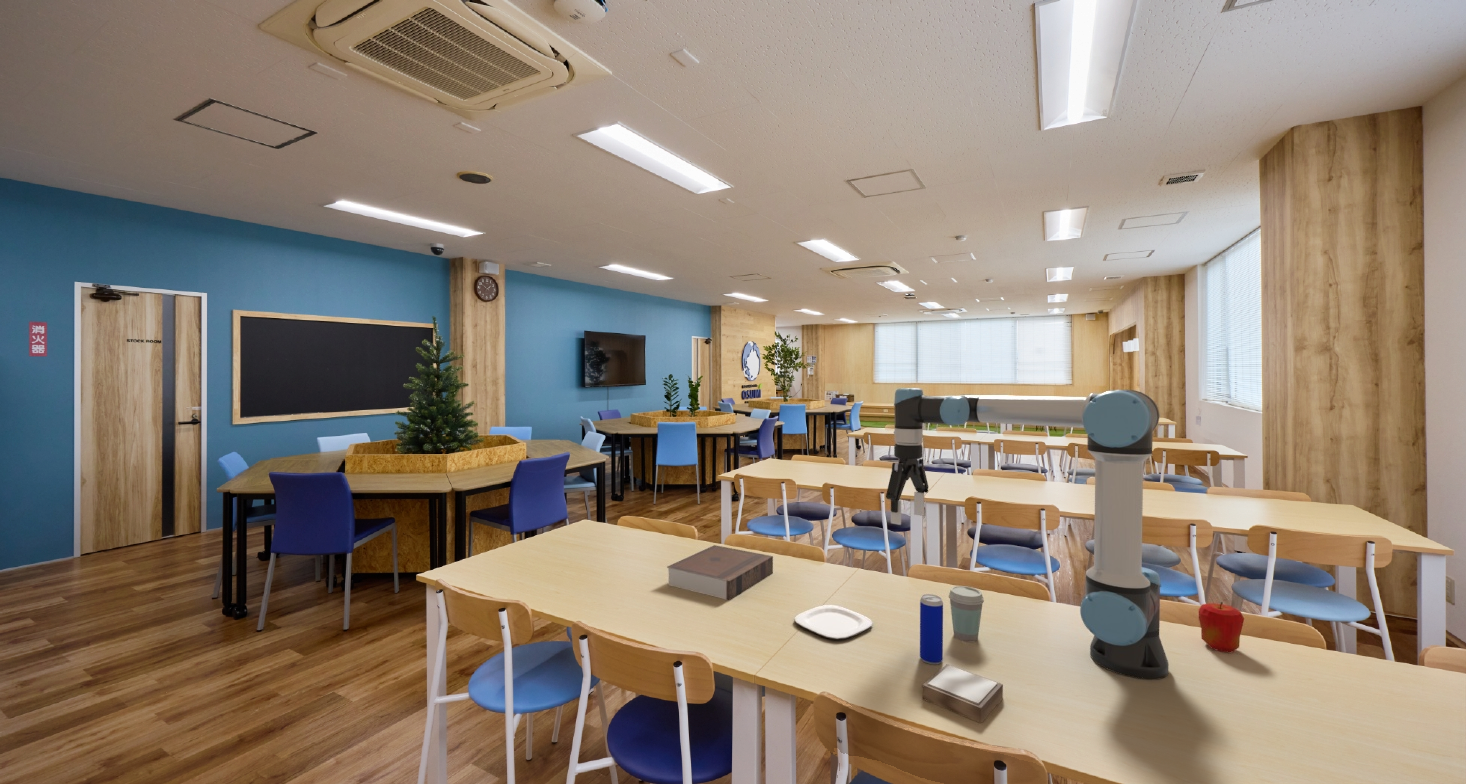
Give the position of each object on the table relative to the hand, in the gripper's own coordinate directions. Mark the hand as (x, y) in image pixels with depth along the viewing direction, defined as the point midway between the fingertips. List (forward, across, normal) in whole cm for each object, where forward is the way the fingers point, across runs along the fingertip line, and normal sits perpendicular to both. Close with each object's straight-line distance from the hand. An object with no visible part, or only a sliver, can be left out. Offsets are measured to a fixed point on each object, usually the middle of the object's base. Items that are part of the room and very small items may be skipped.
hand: (907, 519), depth 157 cm
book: (+29, +15, -60) cm, 68 cm away
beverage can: (+28, +18, +15) cm, 37 cm away
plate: (+29, +18, -13) cm, 36 cm away
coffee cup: (+28, 0, +16) cm, 33 cm away
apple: (+28, -38, +64) cm, 80 cm away
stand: (+28, +29, +27) cm, 48 cm away
